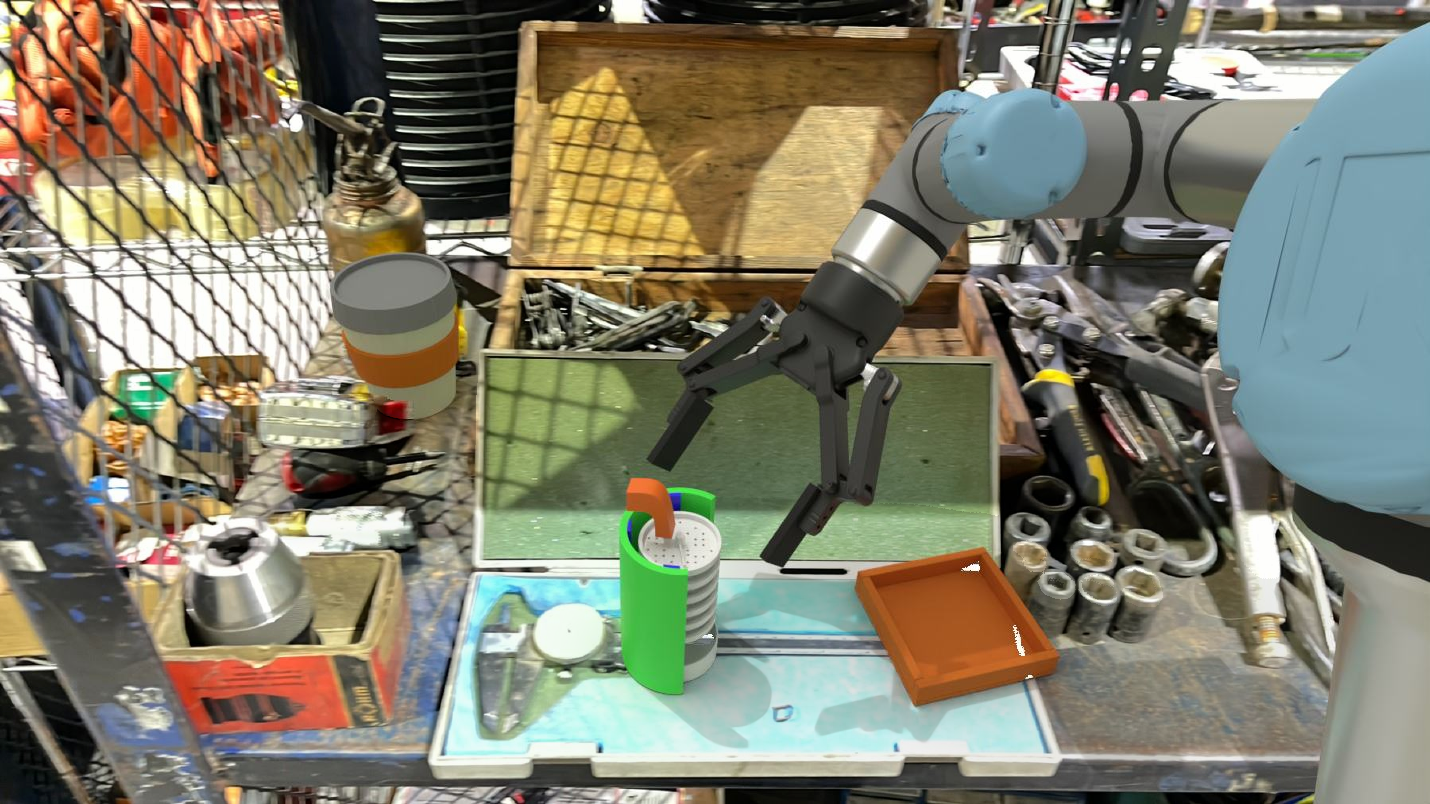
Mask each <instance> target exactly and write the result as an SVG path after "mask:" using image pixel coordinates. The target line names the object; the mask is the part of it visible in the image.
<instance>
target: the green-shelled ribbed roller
mask: <svg viewBox="0 0 1430 804" xmlns="http://www.w3.org/2000/svg"><path fill="white" fill-rule="evenodd" d="M625 493H626V495H625V496H626V497H625V498H626V510H625V511H624V512H623V514H622V516H621V518H620V522H619V526H618V549H619V551H618V552H619V595H620V596H619V597H620V598H619V599H620V602H619V603H620V641H621V642H620V647H621V649H620V651H621V652H620V653H621V658H622V661H623V665H624V667H625V669H626V670H627V672H628V673H629V674H630V676H631V677H632V678H633V679H634V680H635V681H636V682H637V683H639V684H640V685H642V686H643V687H646V688H647V689H649V690H650V691H654V692H657V693H660V694H667V695H683V691H684V683H685V682H689V681H690V682H691V681H693V680H696V679H697V678H699V677H701V676H703V675H704V674H705V673H706V672H708V671H709V670H710V668H711V667H712V666H713V664H714V662H715V661H716V658H717V654H718V653H717V652H718V642H719V628H718V625H717V622H716V618H717V604H718V591H719V580H720V566H721V552H722V536H721V533H720V530H719V528H718V527H717V526H716V525H715V514H716V513H715V511H716V499H717V498H716V495H714V494H712V493H709V492H707V491H704V490H701V489H697V488H691V487H682V486H681V487H667V488H666V486H665V485H664V484H663V482H661V481H659V480H657V479H655V478H646V477H645V478H644V477H631V478H630V481H629V484H628V487H627V489H626V492H625ZM708 634H712V635H713V636H712V637H714V640H715V641H711V642H710V643H711V644H704V643H694V644H685V643H690V642H693V641H695V642H697V641H696V640H698V639H700V638H702V637H703V636H704V635H708ZM712 642H715V643H712ZM695 644H704V645H695ZM710 645H711V646H710Z"/></svg>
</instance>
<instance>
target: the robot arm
mask: <svg viewBox="0 0 1430 804" xmlns="http://www.w3.org/2000/svg"><path fill="white" fill-rule="evenodd" d="M856 211H857V212H856V213H855V215H854V216H853V217H852V219H851V220H850V221H849V223H848V224H847V226H845V229H844V230H843V231H842V233H841V235H839V237H838V239H837V240H836V241H835V243H834V244H833V246H832V247H831V249H830V253H831V256H832V259H833V261H832V260H827V261H825V262H822V263H821V264H820V265H819V267H818V269H817V270H816V271H815V273H814V274H813V276H812V278H811V279H810V280H809V282H808V284H807V285H806V286H805V288H804V289H803V290H802V292H801V294H800V299H799V303H798V305H797V307H796V308H795V309H794V310H792V312H790V313H788V314H787V312H786V311H785V309H784V308H783V307H782V306H781V305H780V304H778V303H777V302H776V301H775V300H774V299H772V298H771V297H770V296H767V295H764V296H762V297H761V298H760V299H759V300H758V301H757V303H755V305H754V306H753V307H752V309H750V311H749V312H748V313H747V315H745V316H744V317H743V318H741V319H740V320H738V321H737V322H735V323H733V324H732V325H731V326H730V327H728V328H727V329H725V330H724V331H722V332H720V333H719V334H718V335H717V336H715V337H714V338H712V339H710V341H708V342H707V343H705V344H703V345H702V346H701V347H699V348H697V349H696V350H695V351H693V352H692V353H690V354H689V355H688V356H686V357H685V358H683V359H682V360H681V361H679V362H678V363H677V365H676V372H677V373H678V374H680V375H681V376H682V379H683V380H684V382H685V390H684V391H683V392H682V395H681V396H680V397H679V399H678V400H677V402H676V403H675V405H674V406H673V407H672V410H670V412H669V414H668V415H667V418H666V423H668V426H667V428H666V429H665V431H664V432H663V434H662V435H661V437H660V438H659V439H658V441H657V442H656V444H655V445H654V447H653V449H652V450H651V451H650V452H649V454H648V456H647V457H646V459H645V460H646V461H647V462H648V463H650V464H651V465H653V466H656V467H658V468H660V469H663V470H665V471H667V472H669V473H671V472H672V471H673V469H674V467H675V466H676V464H677V463H678V461H679V460H680V458H681V457H682V455H683V454H684V452H685V451H686V449H688V447H689V445H690V444H691V442H692V441H693V440H694V438H695V436H696V435H697V434H698V432H699V430H700V429H701V428H702V426H703V425H704V424H705V422H706V420H707V419H708V418H709V416H710V414H711V413H712V411H713V410H714V409H715V406H713V405H711V404H710V403H714V400H713V399H714V398H715V397H718V396H721V395H723V394H726V393H729V392H732V391H734V390H737V389H740V388H741V387H744V386H747V385H750V384H752V383H755V382H757V381H761V380H763V379H766V378H768V377H771V376H781V375H783V376H785V377H787V378H788V379H790V380H791V381H793V382H794V383H795V384H798V385H799V386H800V387H802V388H803V389H804V390H807V391H808V392H809V393H810V394H812V395H814V396H815V399H816V402H817V404H818V416H819V418H818V419H819V444H820V445H819V449H820V451H819V452H820V481H821V482H820V483H816V485H815V484H814V483H811V482H809V483H808V485H807V486H806V487H805V489H804V490H803V491H802V493H801V495H800V496H799V497H798V499H797V500H796V502H795V503H794V505H793V506H792V508H791V509H790V511H789V512H788V514H786V516H785V517H784V519H783V521H781V524H780V525H779V526H778V528H777V529H776V531H775V532H774V534H773V535H772V537H770V539H769V541H768V542H767V544H766V545H765V547H763V549H762V551H761V553H760V554H759V556H758V558H761V559H762V560H763V561H764V562H765V563H767V564H770V565H773V566H775V567H779V568H782V569H784V568H785V566H786V565H787V564H788V561H789V560H790V559H791V558H792V556H793V555H794V553H795V552H796V550H797V549H798V547H800V545H801V543H802V542H803V540H804V539H805V537H806V536H807V535H809V536H812V537H817V536H818V535H819V534H821V532H822V531H823V529H824V528H825V526H826V525H827V524H828V522H829V520H830V519H831V518H832V516H833V515H834V513H835V512H836V511H837V510H838V508H839V507H840V505H841V504H843V503H853V504H856V505H860V506H862V507H869V506H870V505H872V504H873V503H874V500H875V495H876V489H877V484H878V479H879V478H878V477H879V474H880V467H881V462H882V456H883V451H884V445H885V439H886V434H887V428H888V423H889V418H890V411H891V408H892V407H893V404H894V403H895V401H896V399H897V397H898V396H899V393H900V391H901V390H902V387H903V382H902V380H901V379H900V378H899V377H898V376H897V375H896V374H895V373H893V371H892V370H890V369H889V368H888V367H885V366H882V367H881V366H880V367H877V366H876V365H875V366H874V365H873V360H874V358H875V356H876V355H877V354H878V353H879V352H880V351H881V350H883V349H884V348H885V346H886V345H887V343H888V341H890V339H891V337H892V336H893V334H894V333H895V332H896V330H897V329H898V327H899V326H900V324H901V323H902V321H904V318H905V315H904V314H905V311H904V309H903V306H905V307H908V306H912V305H914V303H915V302H916V300H917V299H918V297H919V296H920V295H921V294H922V292H923V290H924V289H925V287H926V286H927V284H928V283H929V281H930V280H931V278H932V277H933V276H934V274H935V273H936V272H937V270H938V269H939V268H940V265H941V264H942V263H943V262H944V260H945V259H946V257H947V256H948V254H949V253H950V251H951V250H952V249H953V246H954V245H955V244H956V243H957V241H958V240H959V238H960V237H961V236H962V234H963V233H964V231H965V230H966V229H967V227H968V226H969V225H971V224H976V223H983V222H991V221H1007V220H1008V221H1009V220H1010V221H1011V220H1012V221H1013V220H1067V219H1071V220H1072V219H1110V218H1154V219H1155V218H1157V219H1171V220H1172V219H1173V220H1178V221H1182V222H1187V223H1192V224H1199V225H1205V226H1206V225H1207V226H1213V227H1218V228H1221V229H1222V228H1223V229H1227V230H1233V232H1232V235H1231V239H1230V241H1229V244H1228V248H1227V251H1226V256H1225V260H1224V263H1223V268H1222V274H1221V279H1220V284H1219V290H1218V291H1219V292H1218V300H1217V321H1216V322H1217V324H1216V325H1217V327H1216V334H1217V335H1216V337H1217V350H1218V358H1219V363H1220V369H1221V371H1222V372H1223V374H1224V375H1225V376H1226V377H1227V378H1230V379H1233V380H1238V381H1239V384H1238V388H1237V390H1236V392H1235V394H1234V395H1233V397H1232V399H1231V408H1232V411H1233V412H1234V414H1235V416H1236V418H1237V420H1238V422H1239V424H1240V426H1241V428H1242V429H1243V431H1244V432H1245V435H1246V436H1247V437H1248V439H1249V440H1250V441H1251V443H1252V444H1253V446H1254V447H1255V449H1257V451H1258V452H1259V454H1261V456H1263V457H1264V458H1265V460H1266V461H1268V462H1269V463H1270V465H1272V466H1273V467H1274V468H1275V469H1276V470H1278V471H1279V472H1280V473H1281V474H1282V475H1284V476H1285V477H1287V478H1288V479H1290V480H1291V481H1292V482H1294V490H1293V497H1292V502H1291V503H1292V505H1291V518H1292V522H1293V524H1294V525H1295V527H1296V529H1297V530H1298V531H1299V532H1300V533H1301V534H1302V535H1303V536H1304V537H1305V538H1306V540H1307V541H1308V542H1309V543H1310V544H1311V545H1312V546H1313V547H1314V548H1315V549H1316V550H1317V551H1318V552H1319V554H1320V555H1321V556H1323V558H1324V559H1325V560H1326V561H1327V562H1328V563H1329V564H1330V566H1332V567H1333V569H1334V570H1335V571H1336V572H1337V573H1338V574H1339V575H1340V576H1341V578H1342V579H1343V582H1344V586H1343V592H1342V593H1343V594H1342V599H1341V607H1340V614H1339V615H1340V616H1339V620H1338V629H1337V635H1336V642H1335V649H1334V655H1333V662H1332V663H1333V664H1332V670H1331V676H1330V683H1329V690H1328V698H1327V704H1326V712H1325V719H1324V726H1323V733H1322V740H1321V746H1320V754H1319V760H1318V768H1317V773H1316V783H1315V789H1314V795H1313V803H1312V804H1430V21H1429V22H1427V23H1425V24H1423V25H1421V26H1418V27H1416V28H1414V29H1412V30H1410V31H1408V32H1405V33H1404V34H1402V35H1400V36H1398V37H1396V38H1395V39H1393V40H1391V41H1389V42H1388V43H1386V44H1385V45H1383V46H1381V47H1379V48H1378V49H1376V50H1375V51H1373V52H1371V53H1370V54H1368V55H1367V56H1366V57H1364V58H1363V59H1362V60H1360V61H1359V62H1357V63H1356V64H1355V65H1353V66H1352V67H1351V68H1350V69H1348V70H1347V71H1346V72H1345V73H1343V74H1342V75H1341V76H1340V77H1339V78H1338V79H1336V80H1335V81H1334V82H1333V83H1332V84H1331V85H1330V86H1328V87H1327V88H1326V89H1325V90H1324V91H1323V92H1322V93H1321V94H1320V96H1319V97H1318V98H1317V97H1316V98H1315V97H1314V98H1313V97H1312V98H1258V99H1257V98H1255V99H1254V98H1253V99H1252V98H1251V99H1249V98H1248V99H1247V98H1246V99H1240V98H1232V97H1231V98H1229V97H1228V98H1225V97H1223V98H1205V99H1164V100H1163V99H1162V100H1125V101H1124V100H1122V101H1121V100H1070V99H1069V100H1067V99H1066V100H1064V99H1062V98H1060V97H1059V96H1058V95H1055V94H1053V93H1052V92H1050V91H1047V90H1044V89H1039V88H1032V87H1031V88H1030V87H1028V88H1027V87H1026V88H1019V89H1014V90H1013V89H1012V90H1010V91H1007V92H1005V91H1002V92H998V93H994V94H991V95H989V96H988V97H987V98H986V97H984V96H982V95H980V94H978V93H975V92H972V91H968V90H965V91H961V90H960V89H959V90H958V89H949V90H946V91H944V92H941V94H939V95H938V96H937V97H936V98H935V99H934V101H933V102H932V103H931V105H930V106H929V107H928V109H927V110H926V112H924V114H923V115H922V117H920V118H918V119H917V120H916V121H915V122H914V124H913V126H912V127H911V129H910V133H909V135H908V136H907V138H906V140H905V141H904V142H903V144H902V146H901V147H900V148H899V150H898V152H897V153H896V155H895V156H894V157H893V159H892V161H891V162H890V164H889V165H888V167H887V168H886V170H885V171H884V173H883V174H882V176H881V177H880V179H878V181H877V184H875V186H874V188H873V189H872V191H871V192H870V194H869V195H868V196H867V198H866V200H865V201H864V202H863V204H862V205H861V206H860V208H859V209H858V210H856ZM771 333H778V338H777V339H774V340H772V341H771V342H767V343H765V344H763V345H760V346H758V347H757V348H756V351H753V352H751V353H749V354H746V355H743V356H741V355H742V354H744V353H745V352H747V351H749V350H750V349H752V348H753V347H754V346H757V345H758V344H759V343H760V342H762V341H764V340H765V339H766V338H767V337H769V335H770V334H771ZM740 356H741V357H740ZM862 381H863V382H862ZM860 382H862V390H863V392H864V394H863V396H862V399H861V404H860V410H859V414H858V420H857V425H856V429H855V436H854V441H853V446H852V452H851V456H850V451H849V450H850V448H849V447H850V445H849V424H848V412H849V411H850V390H849V389H850V388H849V387H851V386H853V385H855V384H858V383H860Z"/></svg>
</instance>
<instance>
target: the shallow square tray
mask: <svg viewBox="0 0 1430 804" xmlns="http://www.w3.org/2000/svg"><path fill="white" fill-rule="evenodd" d="M984 547H985V546H980V547H977V548H971V549H966V550H960V551H955V552H950V553H945V554H940V555H935V556H929V557H924V558H920V559H914V560H909V561H904V562H899V563H894V564H888V565H883V566H877V567H873V568H867V569H862V570H858V571H857V575H856V578H855V585H854V591H855V593H856V595H857V596H858V598H859V601H860V602H861V604H862V606H863V608H864V611H865V613H866V615H867V616H868V618H869V620H870V622H871V624H872V625H873V628H874V630H875V632H876V633H877V636H878V638H879V639H880V641H881V644H882V645H883V648H884V649H885V651H886V650H887V651H888V653H887V655H888V657H889V659H890V661H891V663H892V665H893V667H894V669H895V671H896V673H897V675H898V676H899V678H900V680H901V682H902V684H903V686H904V688H905V690H906V692H907V694H908V696H909V698H910V700H911V702H912V704H913V706H914V707H918V706H922V705H925V704H929V703H934V702H938V701H939V702H940V701H943V700H947V699H951V698H955V697H960V696H963V695H969V694H972V693H977V692H981V691H986V690H990V689H994V688H998V687H1002V686H1003V687H1004V686H1006V685H1012V684H1015V682H1016V683H1019V682H1018V681H1020V682H1024V681H1025V680H1024V679H1025V678H1026V677H1028V675H1032V676H1033V677H1034V678H1033V679H1037V678H1040V677H1045V676H1049V675H1053V674H1054V672H1055V669H1056V666H1057V664H1058V662H1059V659H1060V657H1061V656H1060V654H1059V653H1058V651H1057V650H1056V648H1055V647H1054V645H1053V644H1052V643H1051V641H1050V639H1049V638H1048V637H1047V635H1046V634H1045V632H1044V631H1043V629H1042V628H1041V626H1040V625H1039V624H1038V622H1037V620H1036V619H1035V618H1034V616H1033V615H1032V613H1031V612H1030V611H1029V609H1028V608H1027V607H1026V605H1025V603H1024V602H1023V601H1022V598H1020V597H1019V595H1018V593H1017V592H1016V590H1015V589H1014V588H1013V587H1012V586H1013V585H1011V584H1010V582H1009V580H1008V579H1007V577H1006V576H1005V575H1004V574H1003V572H1002V570H1001V569H1000V568H999V566H998V564H997V563H996V562H995V560H994V558H993V557H992V556H991V554H990V552H989V551H988V550H987V548H986V547H985V548H984ZM978 561H979V566H980V570H979V572H978V571H971V570H970V571H964V570H963V569H962V568H965V567H966V568H967V567H968V566H970V565H971V564H972V565H973V563H974V564H975V563H976V562H978ZM961 570H963V571H961ZM1014 625H1016V626H1014ZM1013 626H1014V627H1017V629H1016V630H1017V631H1019V634H1020V637H1021V646H1023V647H1024V650H1025V652H1024V653H1025V656H1021V655H1019V654H1021V653H1019V651H1018V649H1017V645H1016V644H1017V643H1015V642H1016V641H1017V640H1015V638H1016V637H1017V636H1016V637H1015V633H1014V632H1015V631H1013V630H1014V628H1013ZM1016 634H1018V632H1017V633H1016ZM1023 647H1022V648H1023ZM887 651H886V652H887ZM1023 680H1024V681H1023Z"/></svg>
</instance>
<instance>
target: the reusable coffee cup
mask: <svg viewBox="0 0 1430 804" xmlns="http://www.w3.org/2000/svg"><path fill="white" fill-rule="evenodd" d="M329 295H330V303H331V311H332V315H333V317H334V320H335V321H336V322H337V323H338V324H339V325H340V327H341V328H342V330H341V339H342V341H343V344H344V346H345V348H346V351H347V353H348V356H349V358H350V360H351V362H352V366H353V367H354V370H355V372H356V374H357V376H358V377H359V378H360V379H361V380H362V381H364V383H365V386H366V388H367V390H368V393H369V394H370V393H371V394H373V395H382V396H385V397H387V399H390V400H394V401H409V400H411V401H413V403H414V420H415V421H416V420H421V419H425V418H428V417H432V416H434V415H436V414H439V413H441V412H442V411H444V410H445V409H446V408H448V407H449V406H450V405H451V404H452V402H453V401H454V399H455V398H456V395H457V394H456V393H457V379H456V378H457V377H456V375H457V373H456V370H457V369H456V364H457V363H458V361H459V357H460V328H459V327H460V326H459V325H460V324H459V322H460V321H459V315H458V314H457V312H456V310H455V306H456V304H457V300H458V294H457V290H456V286H455V284H454V280H453V276H452V273H451V269H450V268H449V267H448V265H447V264H446V263H445V262H444V261H442V260H440V259H439V258H437V257H435V256H431V255H428V254H425V253H420V252H419V253H418V252H406V251H405V252H400V251H399V252H387V253H381V254H376V255H375V254H374V255H372V256H369V257H364V258H361V259H359V260H357V261H355V262H352V263H350V264H348V265H346V266H345V267H343V268H342V269H340V270H339V271H338V272H337V273H336V274H335V275H334V276H333V277H332V279H331V281H330V283H329ZM414 420H413V421H414Z"/></svg>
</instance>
